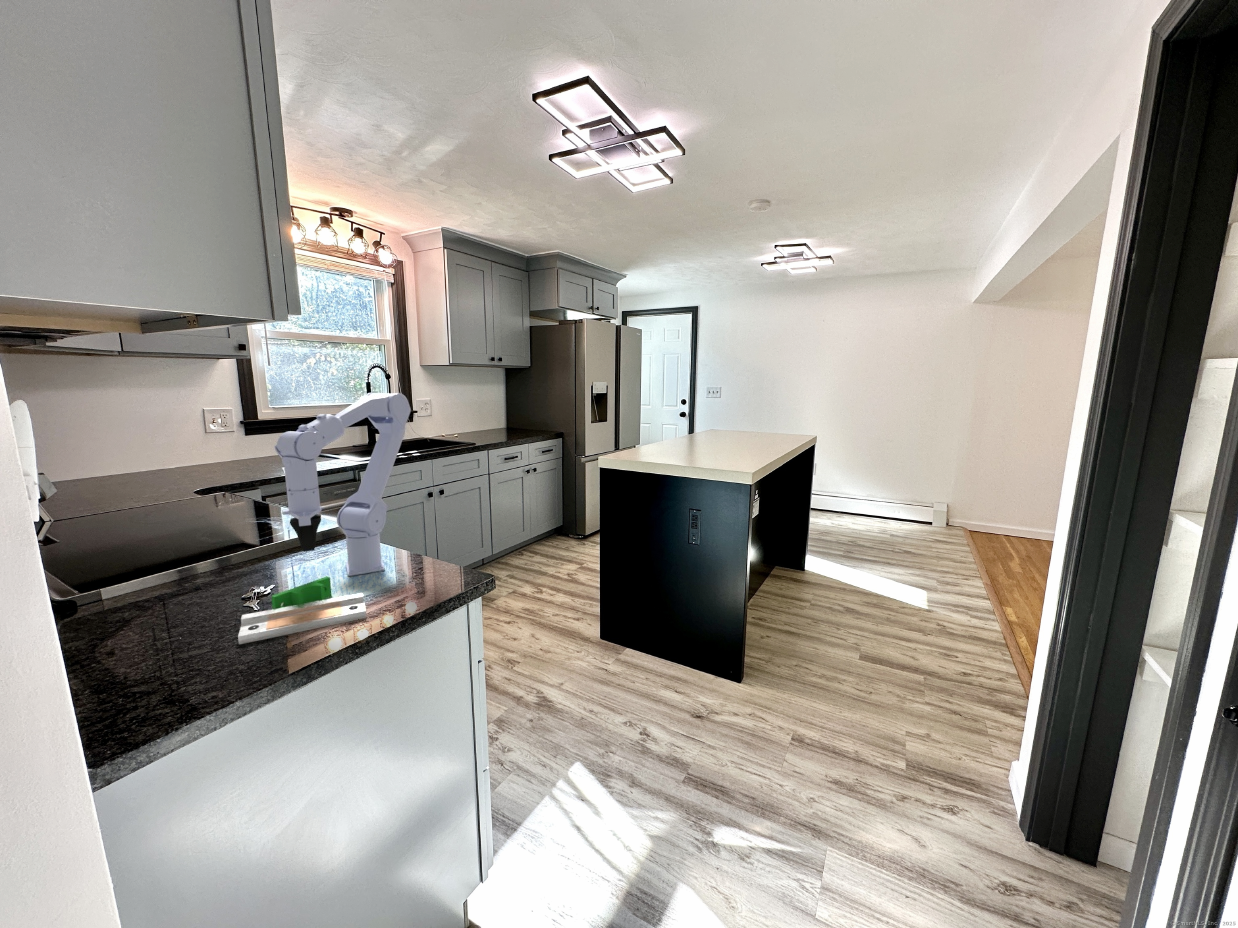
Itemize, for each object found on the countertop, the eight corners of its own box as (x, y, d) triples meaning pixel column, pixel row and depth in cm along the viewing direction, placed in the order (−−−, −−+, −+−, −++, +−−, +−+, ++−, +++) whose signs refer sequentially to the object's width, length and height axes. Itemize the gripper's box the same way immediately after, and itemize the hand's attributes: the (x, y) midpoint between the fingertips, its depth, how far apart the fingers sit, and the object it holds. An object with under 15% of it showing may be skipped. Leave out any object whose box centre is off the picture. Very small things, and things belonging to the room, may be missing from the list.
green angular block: (284, 622, 96) (282, 599, 95) (273, 618, 98) (270, 595, 97) (339, 599, 106) (337, 578, 105) (328, 595, 108) (326, 575, 107)
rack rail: (243, 627, 94) (242, 614, 93) (363, 603, 104) (362, 592, 103) (239, 644, 88) (237, 631, 87) (366, 617, 98) (365, 605, 97)
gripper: (281, 483, 110) (288, 543, 112) (277, 497, 98) (284, 563, 100) (319, 480, 114) (324, 538, 116) (319, 493, 101) (325, 557, 104)
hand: (308, 549), depth 108 cm, fingers closed
